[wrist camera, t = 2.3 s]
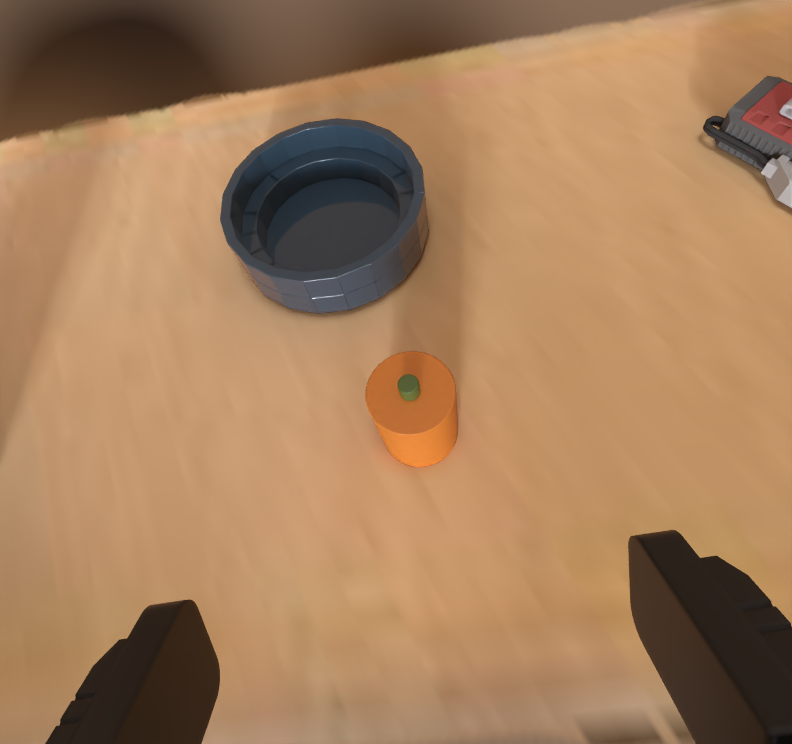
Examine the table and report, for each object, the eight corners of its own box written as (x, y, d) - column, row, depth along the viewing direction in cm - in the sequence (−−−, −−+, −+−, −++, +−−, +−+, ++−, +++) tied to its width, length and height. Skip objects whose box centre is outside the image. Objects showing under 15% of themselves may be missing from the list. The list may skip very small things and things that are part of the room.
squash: (374, 457, 36) (350, 417, 29) (393, 388, 38) (375, 334, 31) (448, 474, 35) (443, 437, 28) (464, 403, 37) (464, 350, 30)
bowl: (217, 299, 44) (188, 263, 39) (281, 157, 49) (262, 111, 45) (401, 332, 40) (393, 296, 36) (446, 175, 46) (444, 127, 42)
